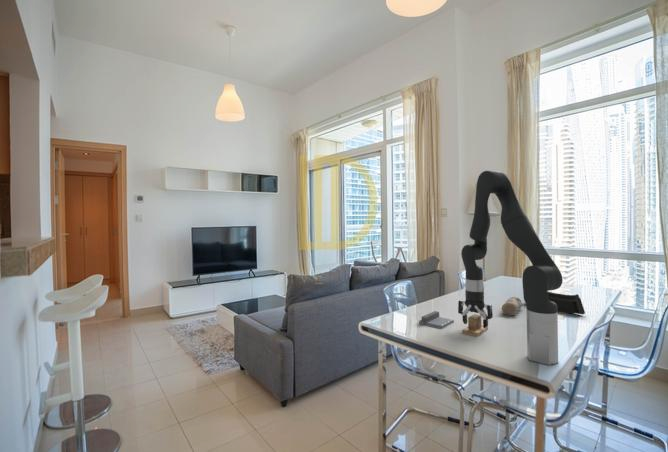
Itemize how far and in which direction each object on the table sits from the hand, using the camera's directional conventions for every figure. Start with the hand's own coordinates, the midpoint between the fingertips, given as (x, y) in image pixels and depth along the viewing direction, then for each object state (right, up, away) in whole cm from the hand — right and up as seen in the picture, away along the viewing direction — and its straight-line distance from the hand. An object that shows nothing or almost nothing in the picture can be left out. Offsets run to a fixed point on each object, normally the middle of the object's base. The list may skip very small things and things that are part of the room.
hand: (475, 325), depth 142 cm
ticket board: (-13, -3, +13) cm, 19 cm away
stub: (0, -3, 0) cm, 3 cm away
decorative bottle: (+35, -2, +31) cm, 47 cm away
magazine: (+56, -1, +32) cm, 64 cm away
